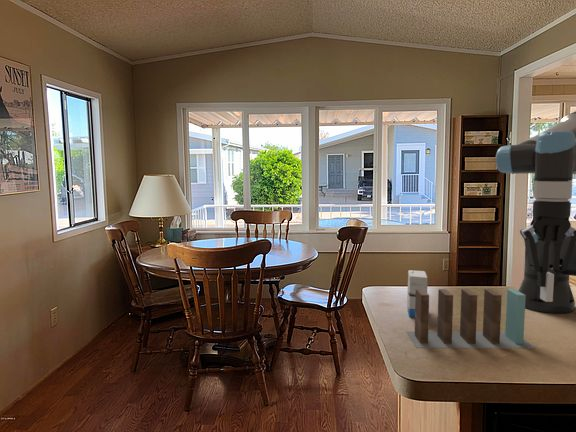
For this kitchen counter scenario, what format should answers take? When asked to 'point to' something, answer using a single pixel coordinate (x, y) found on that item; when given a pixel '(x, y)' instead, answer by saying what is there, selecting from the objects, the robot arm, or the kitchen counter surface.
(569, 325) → the kitchen counter surface
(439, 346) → the mat
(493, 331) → the tile
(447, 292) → the tile
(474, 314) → the tile
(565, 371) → the kitchen counter surface
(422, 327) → the tile
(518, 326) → the teal tile
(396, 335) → the kitchen counter surface
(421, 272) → the ink box
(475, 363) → the kitchen counter surface
